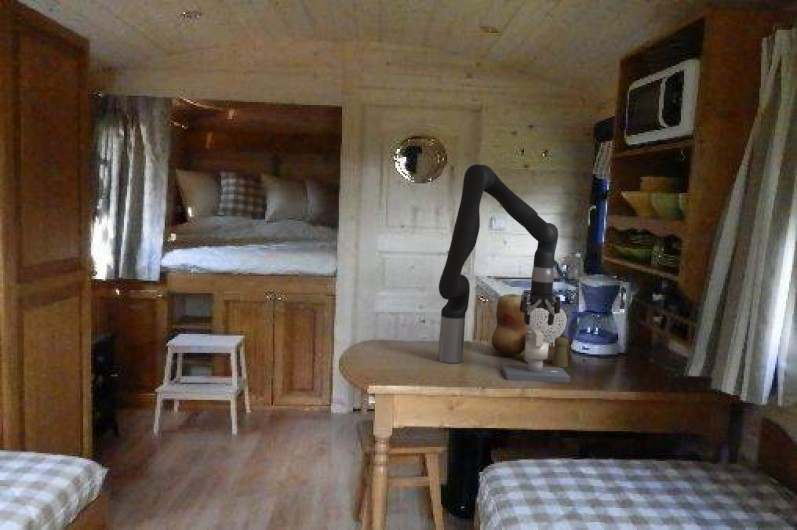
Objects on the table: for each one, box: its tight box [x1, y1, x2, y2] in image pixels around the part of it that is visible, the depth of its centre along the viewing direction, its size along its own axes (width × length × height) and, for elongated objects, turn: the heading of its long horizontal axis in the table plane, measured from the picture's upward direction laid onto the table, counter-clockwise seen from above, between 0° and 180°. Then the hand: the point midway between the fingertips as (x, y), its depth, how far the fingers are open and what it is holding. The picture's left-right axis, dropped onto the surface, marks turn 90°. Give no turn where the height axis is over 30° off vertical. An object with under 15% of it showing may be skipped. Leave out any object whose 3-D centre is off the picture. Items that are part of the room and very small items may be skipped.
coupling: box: [524, 329, 550, 361], centre depth 219 cm, size 11×8×9 cm
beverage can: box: [523, 330, 532, 364], centre depth 238 cm, size 6×6×12 cm
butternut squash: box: [491, 293, 527, 357], centre depth 245 cm, size 14×13×25 cm
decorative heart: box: [525, 307, 568, 347], centre depth 265 cm, size 18×11×17 cm, turn 98°
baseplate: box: [501, 358, 571, 384], centre depth 219 cm, size 22×12×7 cm, turn 90°
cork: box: [551, 336, 570, 369], centre depth 235 cm, size 6×6×11 cm
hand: (538, 324), depth 218 cm, fingers open, 8 cm apart
